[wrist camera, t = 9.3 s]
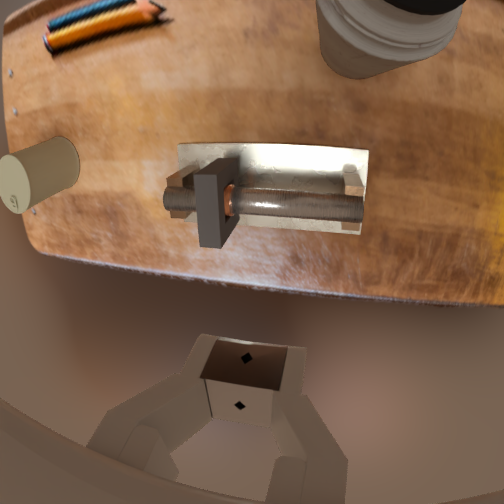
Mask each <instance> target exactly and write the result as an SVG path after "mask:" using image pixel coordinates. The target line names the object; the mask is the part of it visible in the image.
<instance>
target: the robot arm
mask: <svg viewBox="0 0 504 504" xmlns="http://www.w3.org/2000/svg"><path fill="white" fill-rule="evenodd" d="M306 355H307V348H303V347H294V346H289V347H288V346H284V345H274V344H266V343H257V342H248V341H242V340H236V339H230V338H225V337H216V336H212V335H206V334H201V335H200V336H199V337H198V339H197V341H196V343H195V345H194V347H193V349H192V351H191V352H190V354H189V356H188V358H187V360H186V362H185V364H184V366H183V368H182V370H181V372H180V374H176V373H174V374H172V375H171V376H169V377H167V378H165V379H164V380H162V381H160V382H159V383H157V384H155V385H153V386H152V387H150V388H148V389H146V390H145V391H143V392H141V393H139V394H137V395H136V396H134V397H132V398H130V399H128V400H127V401H125V402H123V403H121V404H119V405H117V406H115V407H114V408H112V409H110V410H108V411H107V413H106V414H105V416H104V418H103V419H102V421H101V423H100V424H99V426H98V427H97V429H96V430H95V432H94V434H93V436H92V437H91V439H90V440H89V442H88V444H87V445H86V447H85V446H83V445H81V444H78V443H77V442H74V441H72V440H71V439H69V438H67V437H65V436H63V435H61V434H59V433H57V432H55V431H54V430H52V429H50V428H48V427H46V426H44V425H43V424H41V423H39V422H38V421H36V420H34V419H33V418H31V417H29V416H28V415H26V414H25V413H23V412H21V411H20V410H18V409H17V408H15V407H13V406H12V405H10V404H9V403H7V402H6V401H5V400H3V399H2V398H0V504H345V493H346V481H347V467H348V459H347V458H346V456H345V455H344V453H343V452H342V450H341V448H340V447H339V445H338V444H337V442H336V441H335V439H334V438H333V436H332V434H331V433H330V431H329V430H328V428H327V426H326V425H325V423H324V422H323V420H322V419H321V417H320V415H319V414H318V412H317V411H316V409H315V407H314V406H313V404H312V402H311V401H310V399H309V398H308V396H307V395H304V394H301V392H302V385H303V378H304V370H305V362H306ZM212 418H215V419H220V420H226V421H232V422H238V423H244V424H249V425H254V426H260V427H265V428H271V432H272V434H273V436H274V439H275V441H276V443H277V445H278V448H279V450H280V453H281V455H282V456H280V457H279V458H277V459H276V460H275V463H274V468H273V472H272V476H271V481H270V484H269V488H268V492H267V496H266V500H265V502H264V501H258V500H252V499H246V498H240V497H235V496H231V495H226V494H221V493H217V492H213V491H208V490H204V489H200V488H196V487H193V486H189V485H186V484H182V483H179V482H176V479H177V477H178V474H179V471H178V469H177V467H176V465H175V463H174V461H173V459H172V458H171V455H170V453H171V452H173V451H174V450H175V449H177V448H178V447H179V446H180V445H182V444H183V443H184V442H185V441H187V440H188V439H189V438H190V437H192V436H193V435H194V434H195V433H197V432H198V431H199V430H200V429H202V428H203V427H204V426H205V425H206V424H208V423H209V422H210V421H211V420H212ZM434 504H504V489H503V490H499V491H495V492H491V493H487V494H483V495H478V496H474V497H469V498H464V499H459V500H453V501H448V502H441V503H434Z"/></svg>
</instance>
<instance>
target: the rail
mask: <svg viewBox="0 0 504 504" xmlns="http://www.w3.org/2000/svg"><path fill="white" fill-rule="evenodd" d="M177 147H178V160H179V171H177V172H176V173H174V174H173V175H171V176H169V177H168V178H166V179H167V187H166V189H165V191H164V195H163V203H164V207H165V209H166V210H167V211H170V214H171V218H181V219H184V222H197V212H196V200H195V188H194V175H193V174H195V173H196V172H198V171H199V170H201V169H202V168H204V167H205V166H207V165H208V164H210V163H211V162H213V161H214V160H216V159H217V158H238V187H235V185H227V186H226V187H225V188H224V207H225V216H233V215H234V214H239V215H240V220H239V222H238V223H237V225H244V226H258V227H272V228H286V229H299V230H311V231H323V232H335V233H347V234H358V235H360V233H361V225H362V220H363V212H364V200H365V190H366V180H367V169H368V156H369V150H368V149H358V148H347V147H335V146H322V145H305V144H284V143H238V142H228V143H181V144H178V145H177ZM197 223H198V222H197Z"/></svg>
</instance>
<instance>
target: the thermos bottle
mask: <svg viewBox="0 0 504 504" xmlns="http://www.w3.org/2000/svg"><path fill="white" fill-rule="evenodd" d="M465 1H466V0H316V9H317V19H318V29H319V34H320V49H321V54H322V56H323V58H324V60H325V62H326V63H327V65H328V66H329V67H330V68H331V69H332V70H333V71H335V72H336V73H338V74H339V75H342V76H344V77H347V78H350V79H365V78H369V77H372V76H374V75H377V74H380V73H383V72H386V71H389V70H392V69H395V68H398V67H401V66H404V65H408V64H411V63H414V62H417V61H421V60H424V59H427V58H429V57H431V56H433V55H436V54H437V53H438V52H440V51H441V50H442V49H444V48H445V47H446V46H447V45H448V43H449V42H450V41H451V39H452V38H453V36H454V33H455V31H456V29H457V24H458V21H459V18H460V16H461V13H462V5H463V3H464V2H465Z"/></svg>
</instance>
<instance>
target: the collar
mask: <svg viewBox="0 0 504 504" xmlns="http://www.w3.org/2000/svg"><path fill="white" fill-rule="evenodd" d="M193 175H194V188H195V200H196V212H197V222H198V233H199V243H200V247H207V248H219V249H221V248H222V247H223V245H224V243H225V242H226V240H227V239H228V237H229V236H230V234H231V233H232V231H233V229H234V228H235V226H236V225H237V223H238V222H239V220H240V215H239V214H234V215H233V216H225V207H224V188H225V187H226V186H227V185H235V187H238V158H217V159H216V160H214V161H213V162H211V163H210V164H208V165H207V166H205V167H204V168H202V169H201V170H199V171H198V172H196V173H195V174H193Z"/></svg>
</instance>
